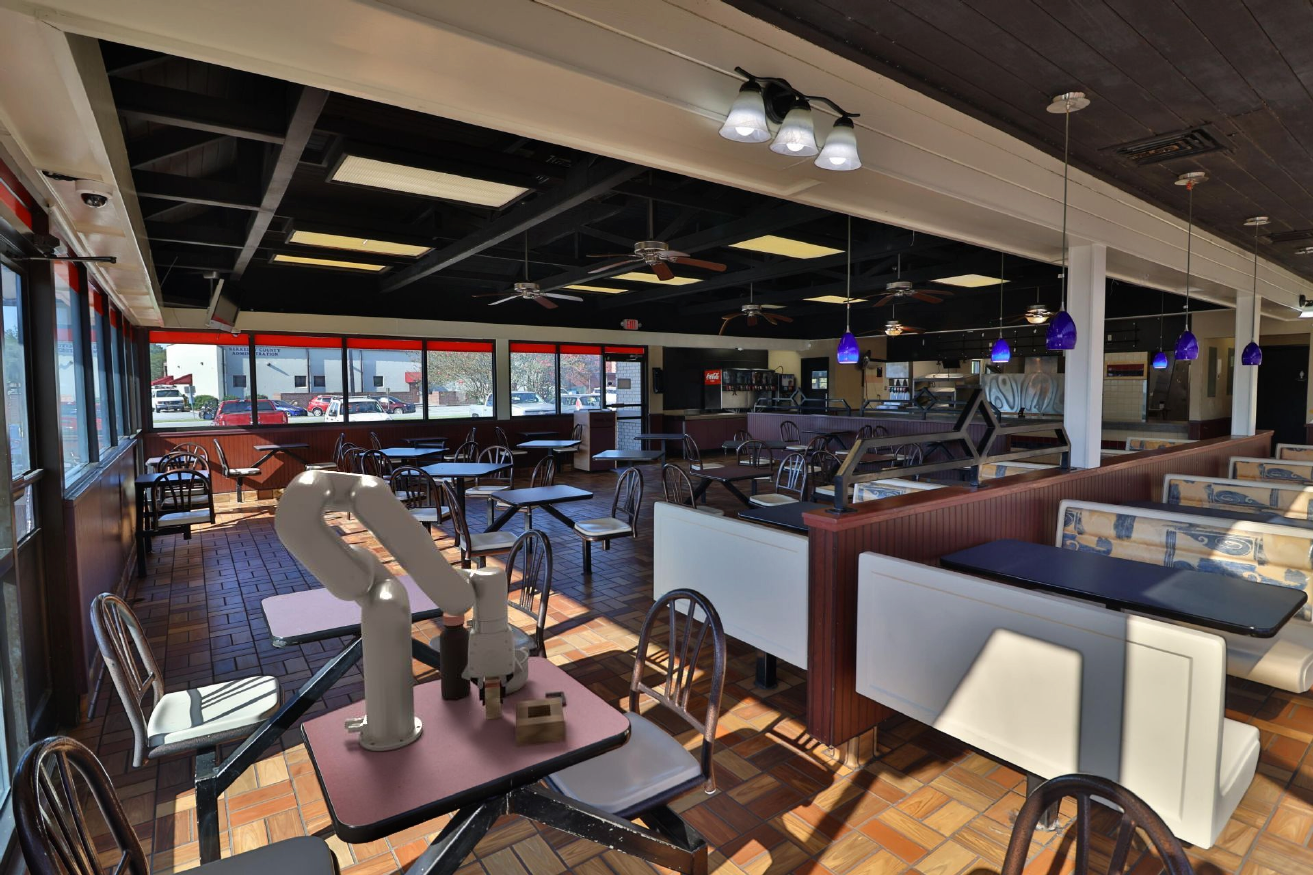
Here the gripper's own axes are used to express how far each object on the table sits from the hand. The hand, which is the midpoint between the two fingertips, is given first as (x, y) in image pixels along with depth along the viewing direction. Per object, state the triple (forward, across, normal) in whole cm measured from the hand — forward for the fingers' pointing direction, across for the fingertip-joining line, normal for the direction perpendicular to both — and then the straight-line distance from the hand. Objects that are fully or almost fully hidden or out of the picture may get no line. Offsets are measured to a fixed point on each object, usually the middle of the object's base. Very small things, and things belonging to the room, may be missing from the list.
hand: (492, 701), depth 149 cm
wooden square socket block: (+3, +10, -9) cm, 14 cm away
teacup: (+4, +4, +14) cm, 15 cm away
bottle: (+3, -9, +12) cm, 15 cm away
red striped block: (+3, 0, 0) cm, 3 cm away
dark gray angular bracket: (+3, +12, +3) cm, 13 cm away
